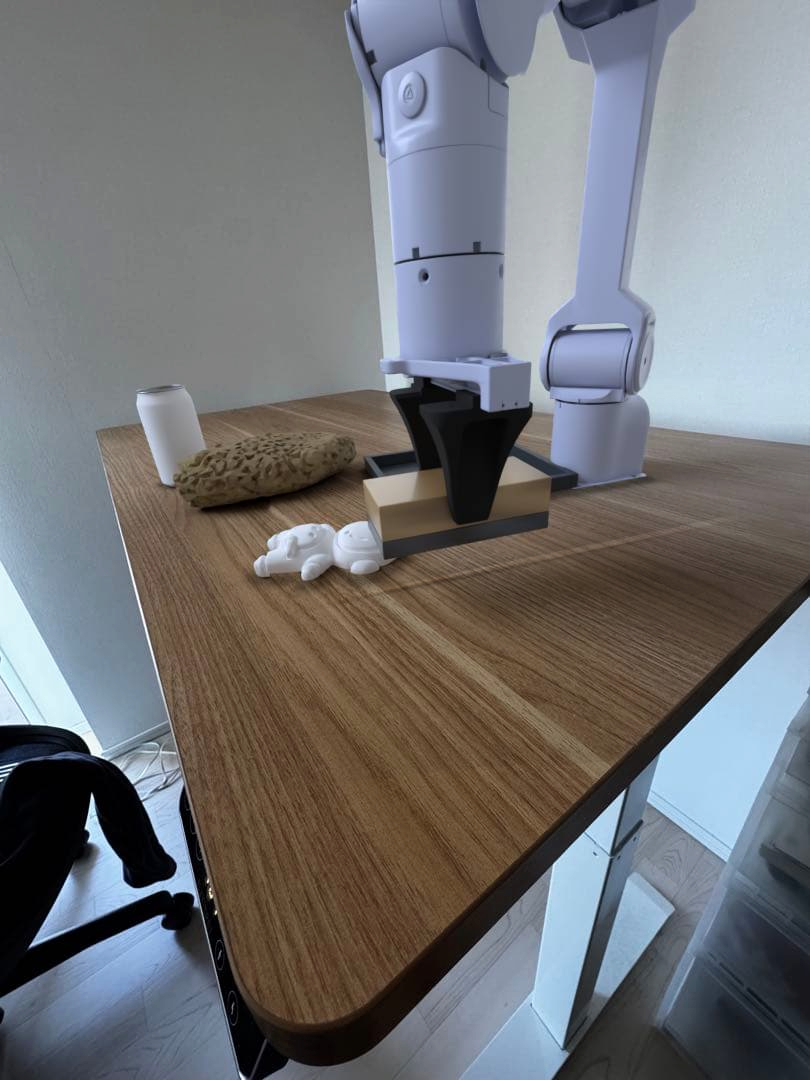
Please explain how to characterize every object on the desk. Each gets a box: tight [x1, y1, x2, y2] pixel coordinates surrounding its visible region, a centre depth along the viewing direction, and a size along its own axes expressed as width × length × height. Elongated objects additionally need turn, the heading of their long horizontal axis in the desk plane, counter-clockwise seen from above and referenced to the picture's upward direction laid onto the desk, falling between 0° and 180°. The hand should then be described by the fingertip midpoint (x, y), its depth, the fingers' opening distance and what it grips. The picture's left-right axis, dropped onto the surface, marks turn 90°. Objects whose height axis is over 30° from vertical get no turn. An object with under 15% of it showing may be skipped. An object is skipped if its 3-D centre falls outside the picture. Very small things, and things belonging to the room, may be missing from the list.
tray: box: [363, 442, 578, 493], centre depth 53 cm, size 20×18×2 cm
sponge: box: [173, 431, 357, 509], centre depth 53 cm, size 13×8×20 cm
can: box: [135, 384, 207, 488], centre depth 58 cm, size 6×6×12 cm
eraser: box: [362, 456, 552, 560], centre depth 29 cm, size 11×5×4 cm, turn 105°
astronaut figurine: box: [253, 520, 397, 582], centre depth 38 cm, size 9×12×3 cm
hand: (454, 503), depth 29 cm, fingers closed on eraser, 5 cm apart
